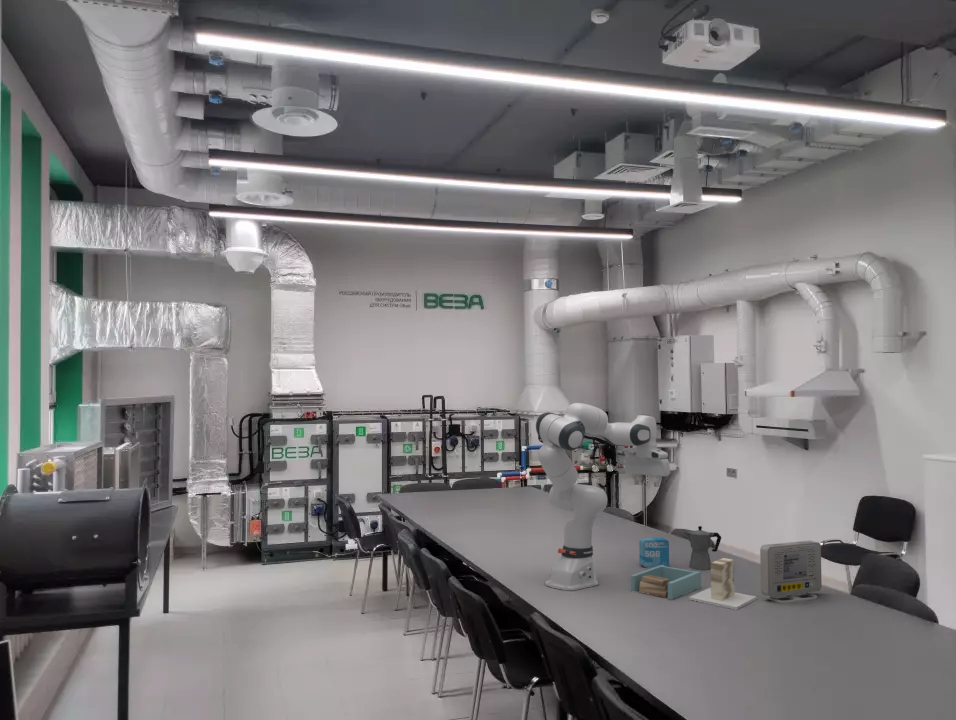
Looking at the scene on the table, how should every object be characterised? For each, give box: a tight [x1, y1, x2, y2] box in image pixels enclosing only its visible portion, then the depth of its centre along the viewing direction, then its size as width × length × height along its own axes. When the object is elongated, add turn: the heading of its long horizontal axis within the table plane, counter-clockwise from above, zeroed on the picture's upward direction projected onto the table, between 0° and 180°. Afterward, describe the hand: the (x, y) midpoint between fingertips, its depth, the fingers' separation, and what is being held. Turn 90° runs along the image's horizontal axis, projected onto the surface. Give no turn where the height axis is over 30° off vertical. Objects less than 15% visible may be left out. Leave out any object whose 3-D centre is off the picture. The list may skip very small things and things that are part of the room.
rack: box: [630, 565, 702, 601], centre depth 279 cm, size 24×17×6 cm
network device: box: [759, 540, 823, 604], centre depth 268 cm, size 26×9×20 cm, turn 111°
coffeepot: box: [684, 525, 722, 571], centre depth 314 cm, size 15×9×18 cm, turn 72°
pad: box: [688, 587, 757, 611], centre depth 265 cm, size 18×18×1 cm
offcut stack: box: [638, 575, 669, 598], centre depth 273 cm, size 5×11×6 cm, turn 47°
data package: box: [638, 537, 670, 569], centre depth 316 cm, size 12×4×12 cm, turn 98°
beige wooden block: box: [710, 557, 735, 601], centre depth 265 cm, size 11×4×13 cm, turn 137°
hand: (646, 485), depth 304 cm, fingers open, 8 cm apart
